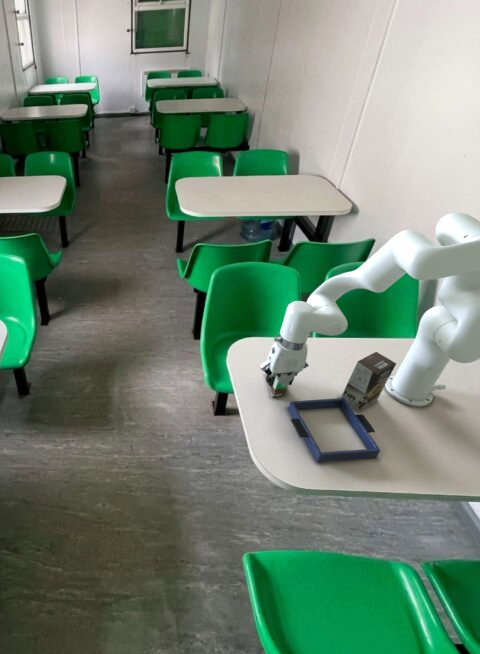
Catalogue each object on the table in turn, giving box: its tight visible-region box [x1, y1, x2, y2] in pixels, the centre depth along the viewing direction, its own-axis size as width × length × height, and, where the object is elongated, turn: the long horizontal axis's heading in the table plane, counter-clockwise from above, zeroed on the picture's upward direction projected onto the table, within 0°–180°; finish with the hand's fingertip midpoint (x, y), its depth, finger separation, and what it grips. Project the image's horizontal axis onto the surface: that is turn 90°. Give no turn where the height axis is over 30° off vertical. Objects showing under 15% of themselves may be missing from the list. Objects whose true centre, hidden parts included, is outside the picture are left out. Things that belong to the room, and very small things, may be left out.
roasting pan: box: [287, 397, 382, 463], centre depth 121 cm, size 21×19×4 cm
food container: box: [268, 365, 296, 399], centre depth 134 cm, size 12×6×10 cm, turn 172°
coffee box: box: [340, 351, 397, 412], centre depth 127 cm, size 9×6×16 cm
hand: (278, 382), depth 135 cm, fingers closed on food container, 5 cm apart
